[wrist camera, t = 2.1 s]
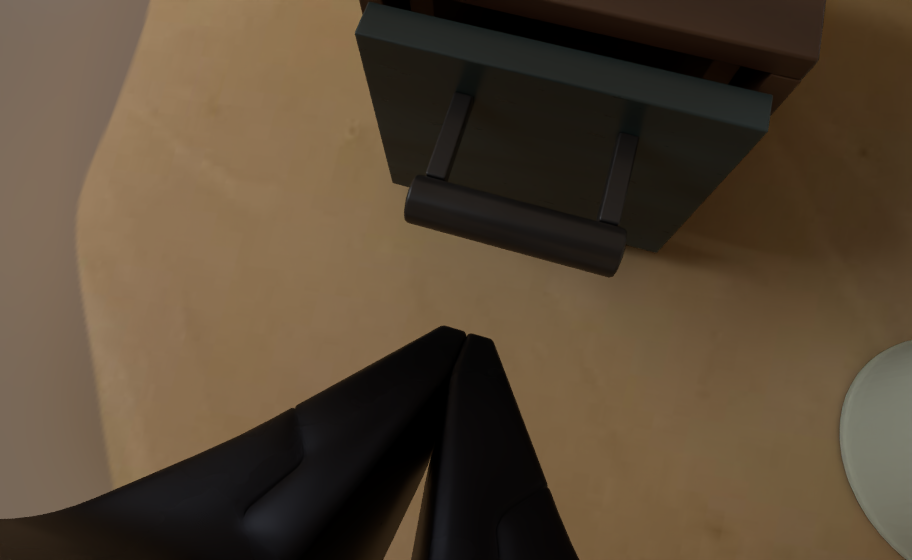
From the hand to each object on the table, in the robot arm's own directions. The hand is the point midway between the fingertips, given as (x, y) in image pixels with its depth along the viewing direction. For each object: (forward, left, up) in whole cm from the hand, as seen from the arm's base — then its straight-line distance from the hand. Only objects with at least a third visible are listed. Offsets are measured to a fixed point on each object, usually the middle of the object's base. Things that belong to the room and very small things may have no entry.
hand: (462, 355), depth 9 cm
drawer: (+13, -2, -12) cm, 18 cm away
